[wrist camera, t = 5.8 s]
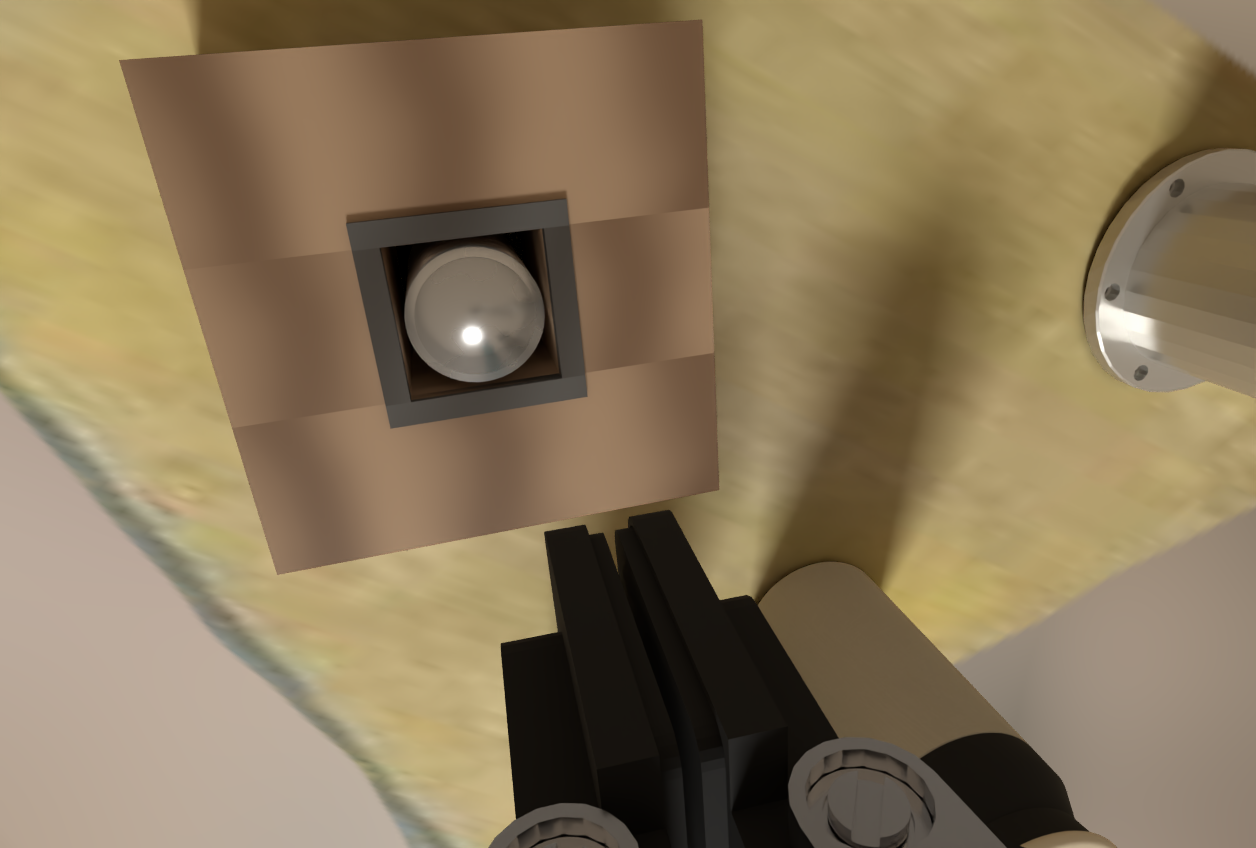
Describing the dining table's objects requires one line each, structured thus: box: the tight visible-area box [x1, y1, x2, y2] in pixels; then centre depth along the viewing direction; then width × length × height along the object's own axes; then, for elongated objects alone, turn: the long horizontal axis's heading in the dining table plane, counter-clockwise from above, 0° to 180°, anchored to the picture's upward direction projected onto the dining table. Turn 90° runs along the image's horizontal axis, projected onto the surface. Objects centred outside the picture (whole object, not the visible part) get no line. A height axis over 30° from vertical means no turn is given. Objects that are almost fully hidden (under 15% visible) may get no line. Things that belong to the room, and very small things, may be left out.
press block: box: [119, 20, 719, 575], centre depth 28 cm, size 16×16×8 cm
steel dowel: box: [404, 233, 545, 382], centre depth 28 cm, size 4×4×8 cm
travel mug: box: [758, 562, 1117, 848], centre depth 36 cm, size 8×8×18 cm
